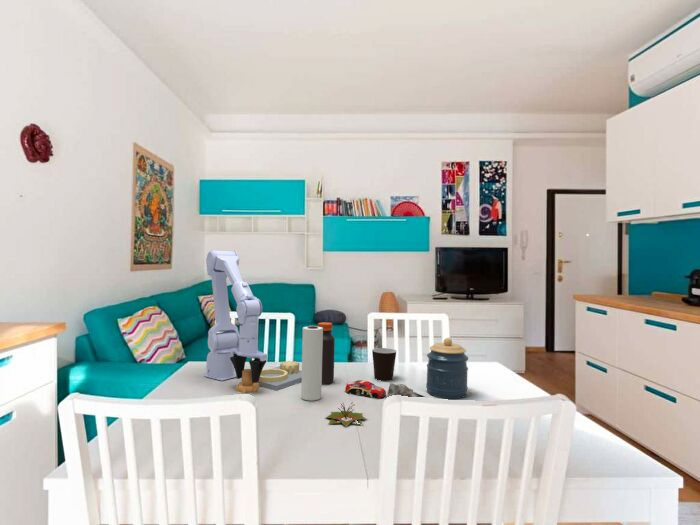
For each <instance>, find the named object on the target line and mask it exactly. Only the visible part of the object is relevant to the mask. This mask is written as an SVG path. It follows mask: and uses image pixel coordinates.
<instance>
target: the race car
mask: <svg viewBox="0 0 700 525" xmlns="http://www.w3.org/2000/svg"><path fill="white" fill-rule="evenodd" d="M344 388H345V390H344V391H345V392H346V393H348V394H349V395H353V396H354V395H357V396H363V397H368V398H369V397H370V398H373V399H380V398H384V397H387V391H386V389H385V388H383V387H382V386H378V385H375V383H373V382H370V381H367V380H363V379H362V380H360V379H359V380H354V381H349V382H347V383H346V385H345V387H344Z"/></svg>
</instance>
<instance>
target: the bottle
mask: <svg viewBox="0 0 700 525" xmlns="http://www.w3.org/2000/svg"><path fill="white" fill-rule="evenodd" d="M317 326H318V327H322V328H323V346H322V385H325V386H326V385H330V384H333V383H334V381H335V380H334V379H335V347H336V346H335V345H336V344H335V342H336V339H335V336H333V334H332V332H333V323H332V322H324V321H322V322H318V323H317Z"/></svg>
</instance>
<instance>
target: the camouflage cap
mask: <svg viewBox="0 0 700 525" xmlns="http://www.w3.org/2000/svg"><path fill="white" fill-rule="evenodd" d="M392 395H401V396H408V397H425V396H424V395H423V394H419V393H417V392H416V391H414V390H413V389H412V388H409V387H408V386H407V385H406V384H404V383H397V384H396V383H393V382H390V383H389V386H388V389H387V392H386V396H385V397H386V398H387V397H389V396H392ZM386 398H385V399H386Z"/></svg>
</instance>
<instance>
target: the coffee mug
mask: <svg viewBox="0 0 700 525" xmlns="http://www.w3.org/2000/svg"><path fill="white" fill-rule="evenodd" d="M371 351H372V364H373V374H374V380H376V379H377V380H376V381H378V380H381V381H380V382H390V380H391V381H392V380H393V378H394V372H395V366H396V365H395V364H396V357H397V349H395V348H394V349H393V348H387V347H377V348H376V347H375V348H372V350H371Z"/></svg>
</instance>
